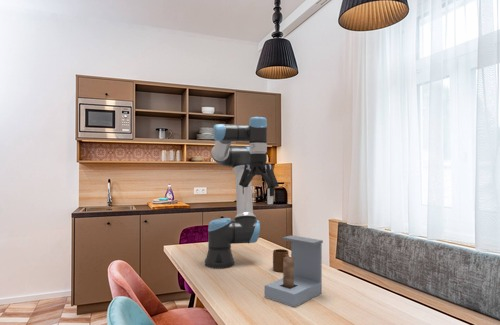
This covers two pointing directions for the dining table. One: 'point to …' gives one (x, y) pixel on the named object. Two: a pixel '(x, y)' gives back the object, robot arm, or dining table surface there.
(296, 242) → the socket station
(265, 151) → the robot arm
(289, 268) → the peg
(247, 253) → the dining table surface
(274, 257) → the mug
